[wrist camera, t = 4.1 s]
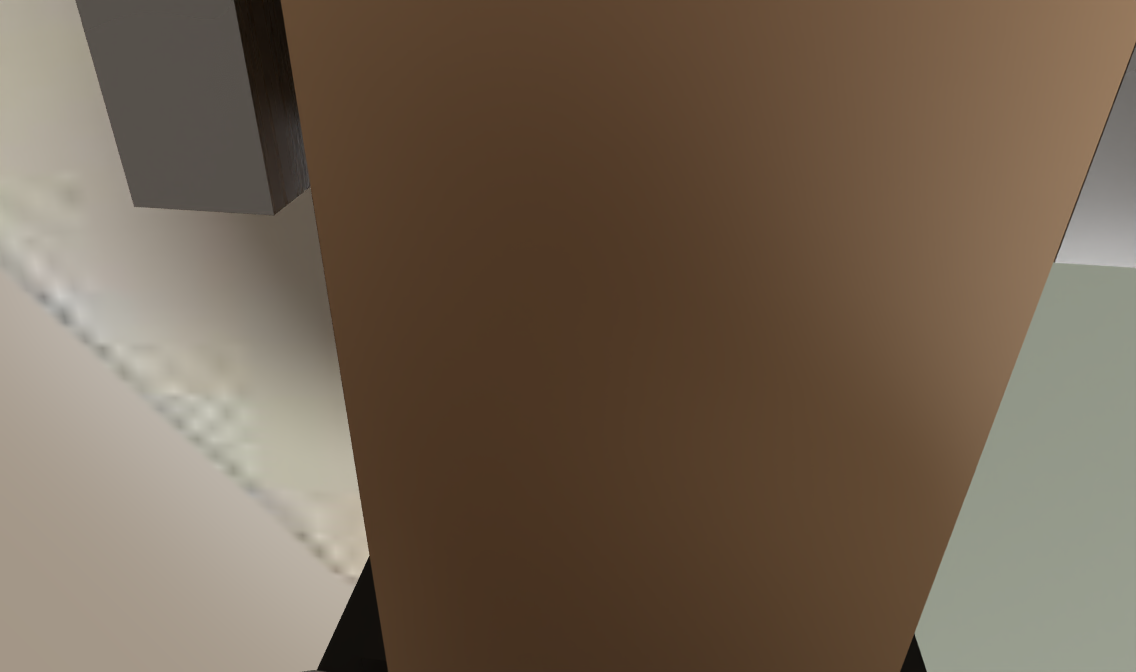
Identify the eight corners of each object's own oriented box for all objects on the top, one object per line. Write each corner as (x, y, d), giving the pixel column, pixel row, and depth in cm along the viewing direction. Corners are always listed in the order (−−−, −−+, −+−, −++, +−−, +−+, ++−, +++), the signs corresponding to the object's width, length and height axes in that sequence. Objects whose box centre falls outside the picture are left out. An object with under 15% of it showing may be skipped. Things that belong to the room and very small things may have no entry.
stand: (891, -223, 12) (1707, -669, 3) (739, 582, 22) (796, 1129, 12) (476, -225, 13) (-93, -596, 3) (503, 558, 23) (377, 1060, 13)
